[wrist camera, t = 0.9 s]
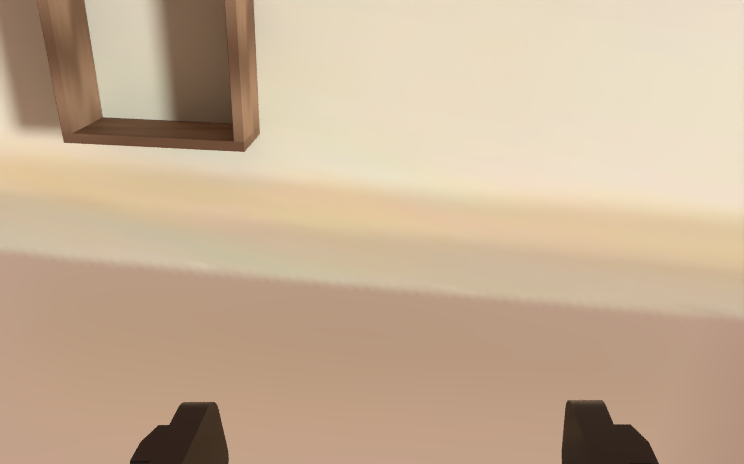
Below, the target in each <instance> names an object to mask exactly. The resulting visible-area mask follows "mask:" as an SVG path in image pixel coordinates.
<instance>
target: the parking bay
mask: <svg viewBox="0 0 744 464" xmlns="http://www.w3.org/2000/svg"><path fill="white" fill-rule="evenodd" d="M37 3H38V8H39V13H40V19H41V24H42V29H43V35H44V40H45V45H46V50H47V56H48V61H49V66H50V71H51V77H52V82H53V87H54V93H55V98H56V103H57V108H58V114H59V119H60V124H61V129H62V135H63V140H64V143H82V144H102V145H121V146H141V147H161V148H180V149H200V150H220V151H240V152H245V151H246V149H247V148H248V147H249V146H250V145H251V144H252V142H253V141H254V140H255V139H256V138H257V137H258V135H259V134H260V131H259V110H258V88H257V67H256V45H255V24H254V3H253V0H225V11H226V27H227V42H228V57H229V72H230V88H231V103H232V118H233V124H224V123H204V122H184V121H163V120H143V119H122V118H103V117H102V110H101V104H100V98H99V91H98V85H97V79H96V73H95V66H94V60H93V54H92V47H91V41H90V35H89V28H88V22H87V16H86V10H85V3H84V0H37Z"/></svg>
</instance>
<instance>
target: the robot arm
mask: <svg viewBox="0 0 744 464" xmlns="http://www.w3.org/2000/svg"><path fill="white" fill-rule="evenodd" d="M228 460H229V458H228V448H227V444H226V440H225V435H224V431H223V427H222V422H221V418H220V414H219V409H218V406H217V404H216V403H215V402H184V403H182V404H181V405H180V406H179V407H178V409H177V411H176V413H175V415H174V417H173V419H172V421H171V423H170V425H159V426H157V427H156V428H155V429H154V430H153V431H152V432H151V433H150V434H149V435H148V436H147V437H145V438H144V439H143V440H142V441H141V443H140V444H139V446H138V448H137V449H136V451H135V453H134V455H133V457H132V458H131V460H130V464H228ZM562 464H659V463H658V461H657V459H656V457H655V454H654V452H653V450H652V448H651V446H650V444H649V442H648V441H647V440H646V439H645V438H644V437H643V436H641V434H640V433H639V432H638V431H637V430H636V429H635V428H633V427H632V426H631V425H614V424H613V422H612V419H611V417H610V415H609V412H608V410H607V407H606V405H605V403H604V402H603V401H602V400H569V401H567V403H566V408H565V420H564V431H563V442H562Z"/></svg>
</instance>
